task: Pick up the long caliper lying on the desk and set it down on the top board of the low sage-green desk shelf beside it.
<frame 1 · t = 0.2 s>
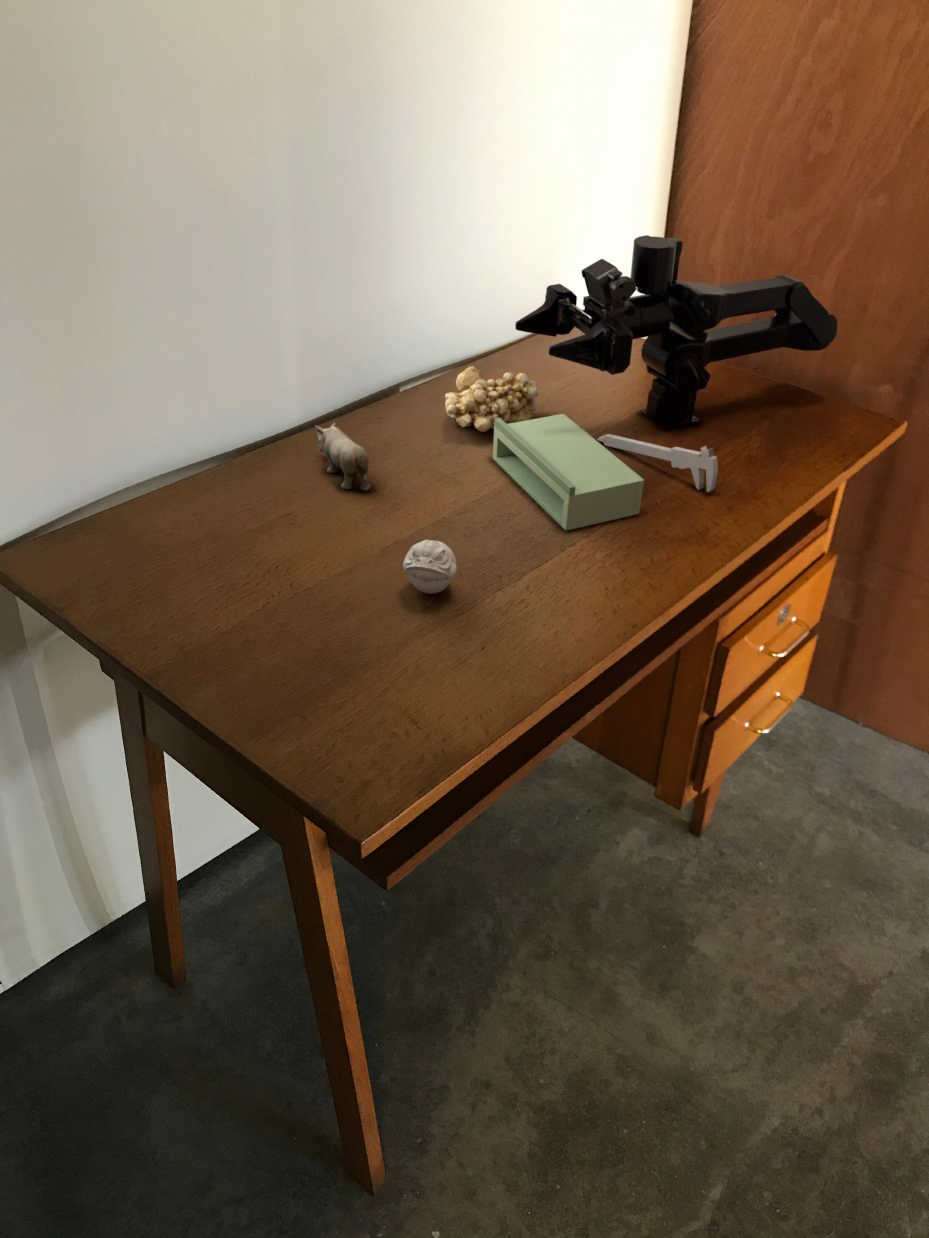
hand: (532, 338, 135), 16 cm above the table, tool horizontal, fingers open, 9 cm apart
frog figurine: (430, 592, 115), on the table
mineral formation: (479, 425, 151), on the table
rhino figurine: (340, 472, 138), on the table
desk shelf: (562, 485, 136), on the table
caliper: (652, 467, 141), on the table
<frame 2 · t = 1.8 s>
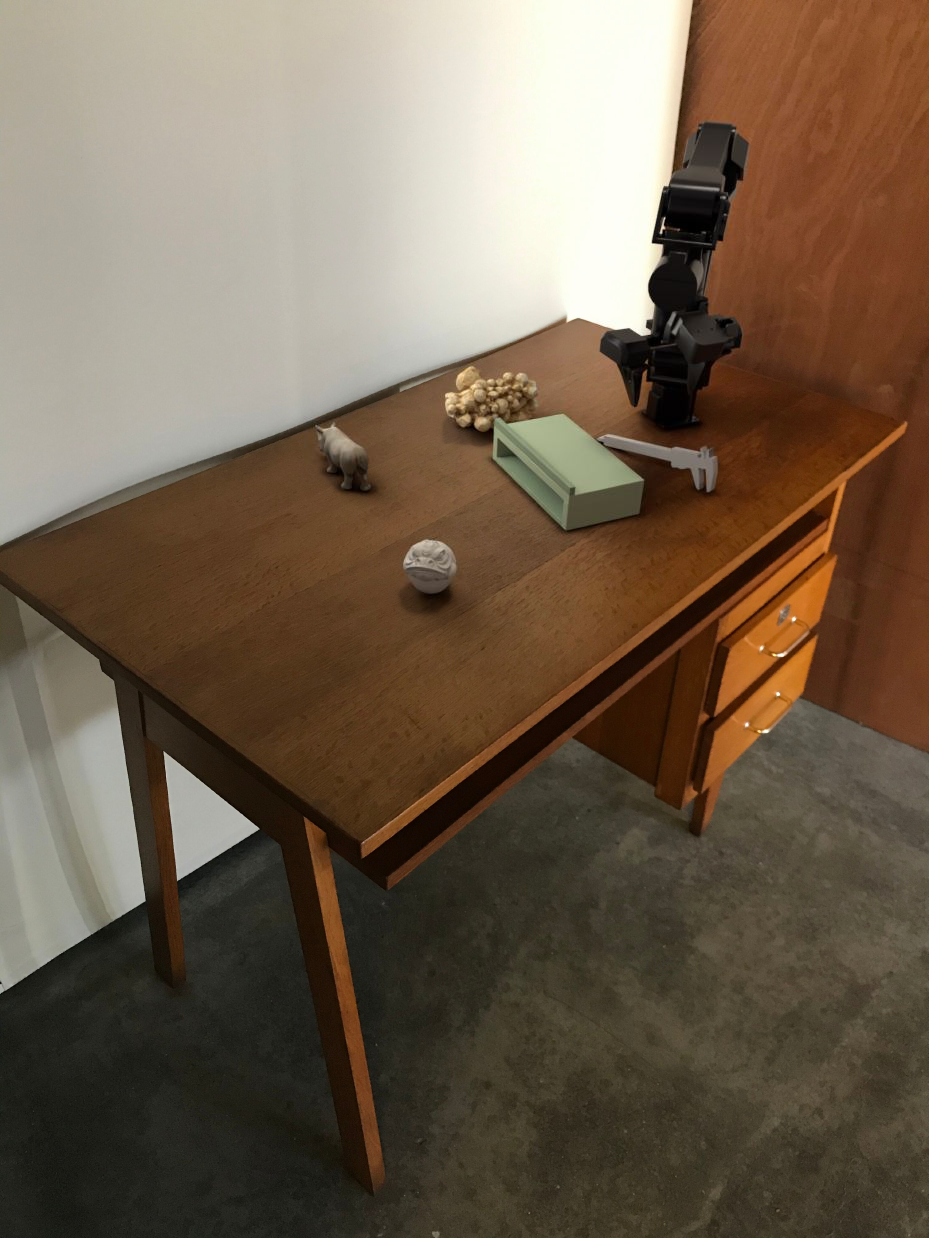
hand: (662, 400, 135), 10 cm above the table, tool pointing down, fingers open, 9 cm apart
nothing on the table moved.
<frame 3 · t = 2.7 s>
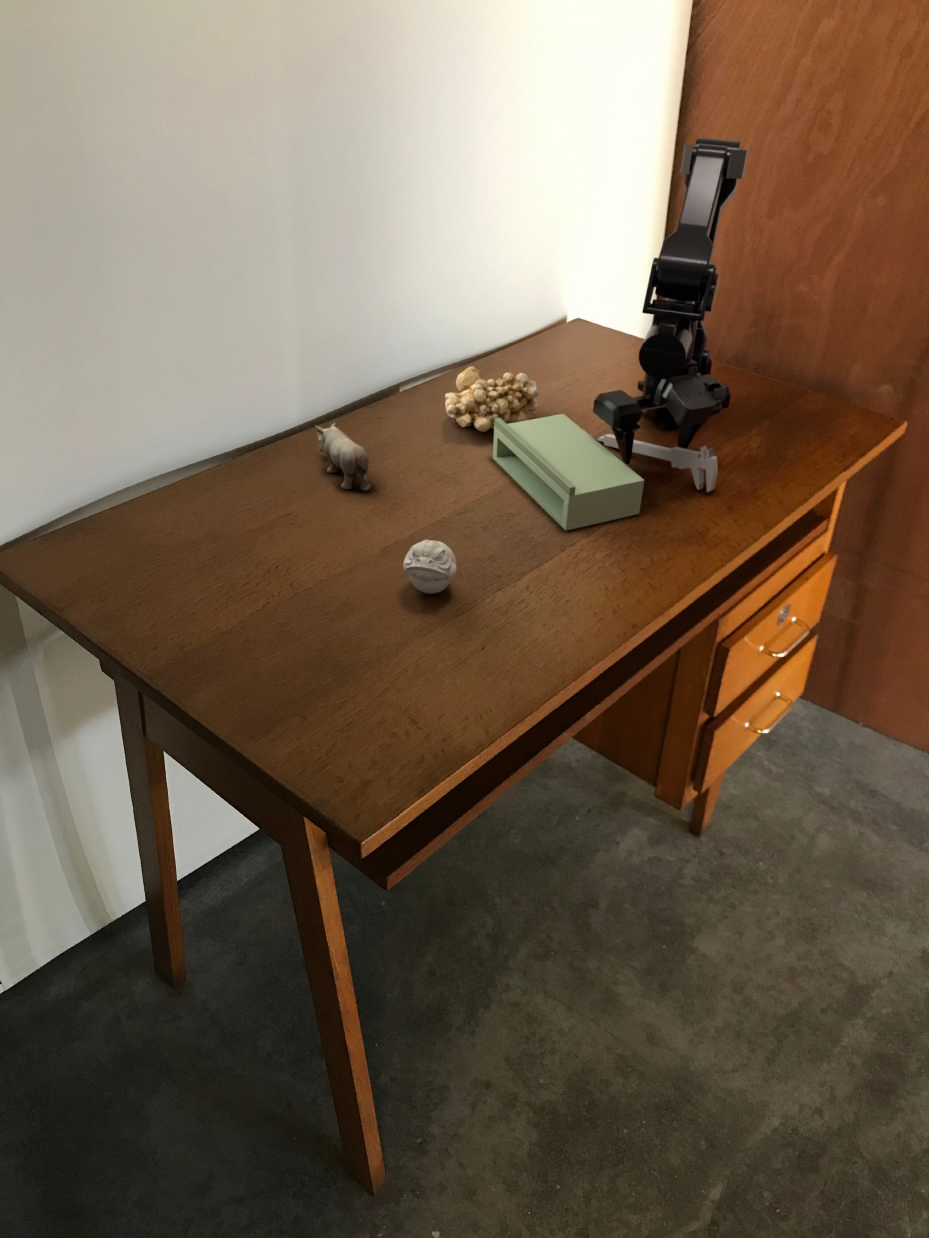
hand: (654, 457, 140), 1 cm above the table, tool pointing down, fingers open, 9 cm apart
nothing on the table moved.
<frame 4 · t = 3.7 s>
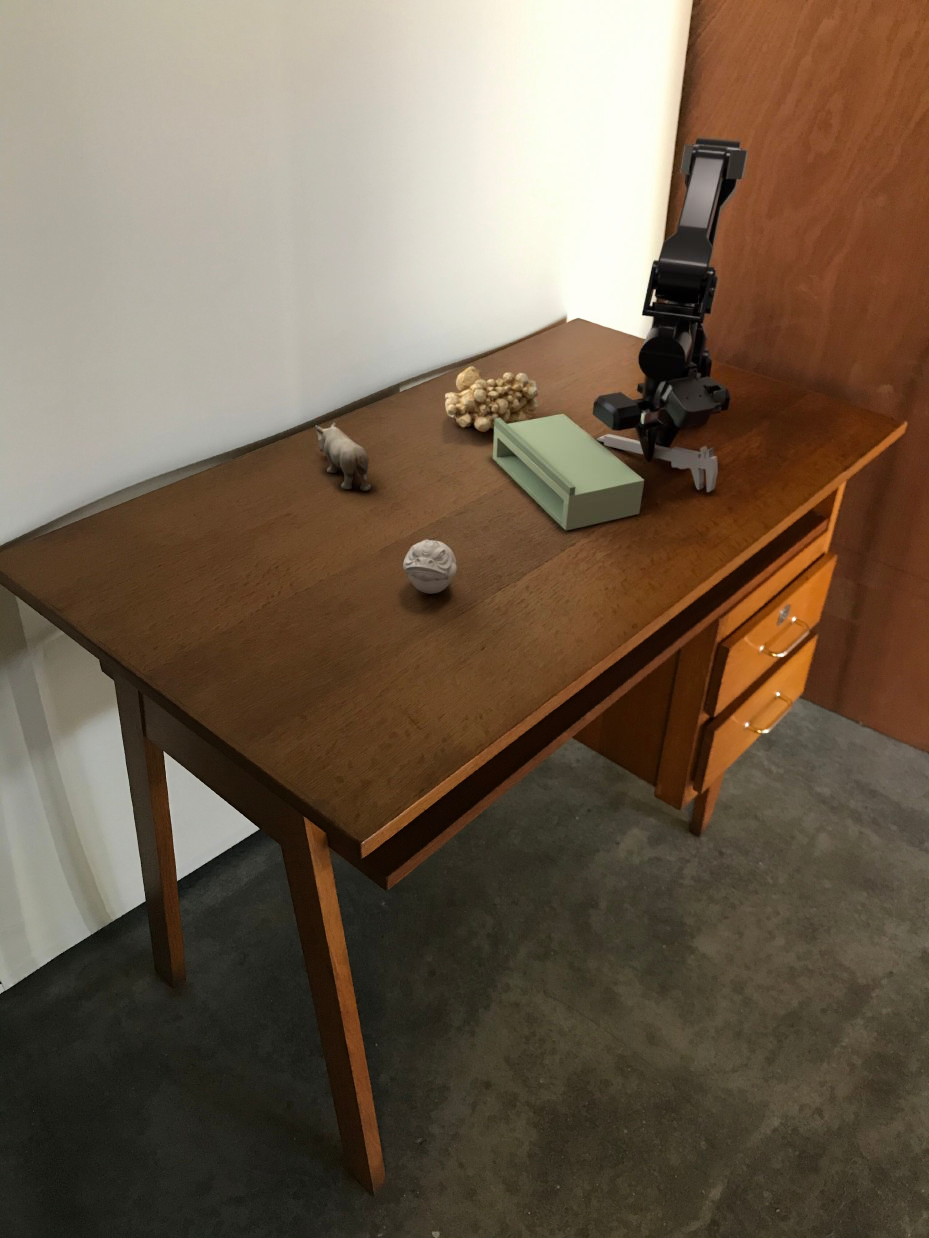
hand: (653, 459, 141), 1 cm above the table, tool pointing down, fingers closed on caliper, 1 cm apart
caliper: (652, 467, 141), on the table, touching gripper
everything else where it was.
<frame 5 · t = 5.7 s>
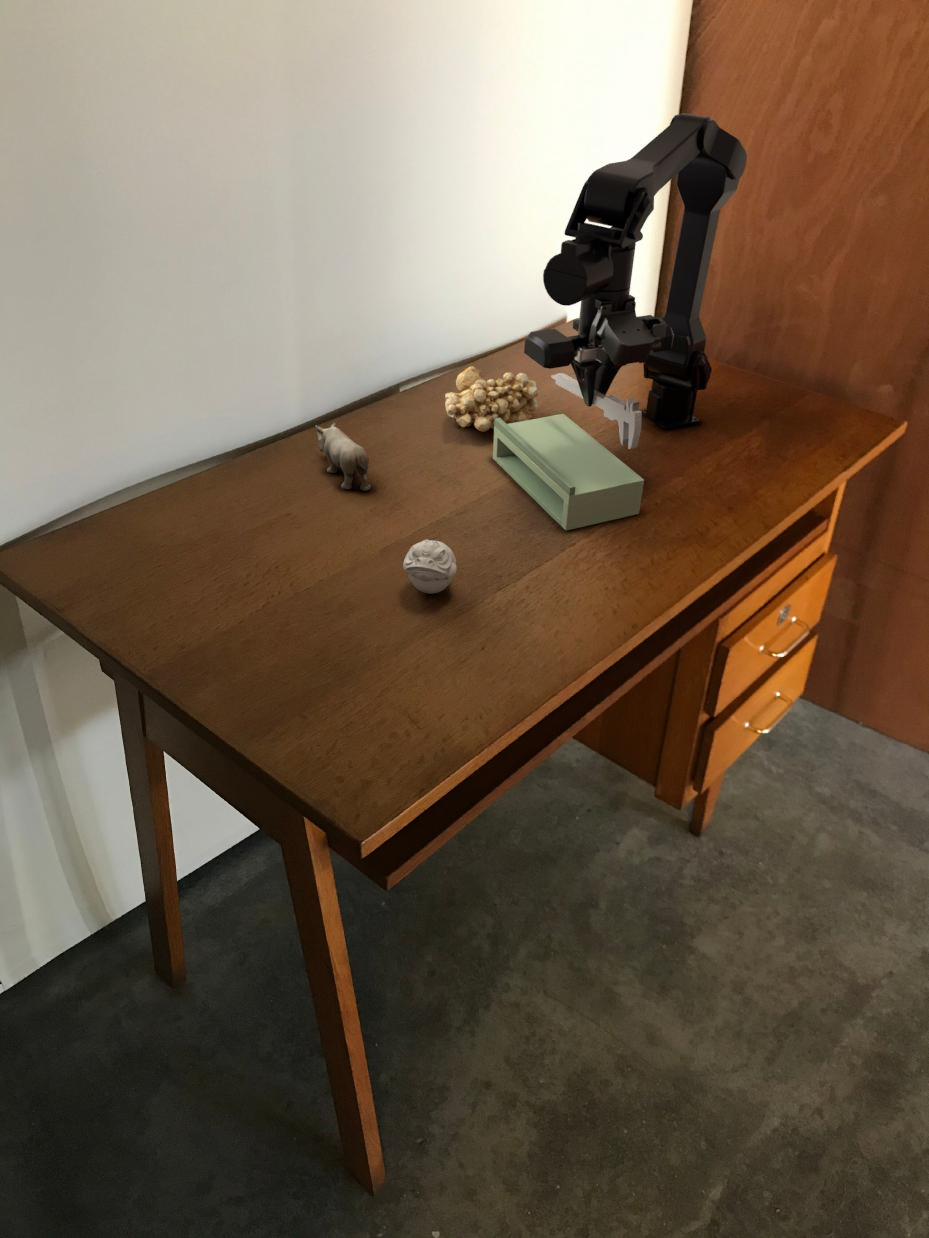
hand: (592, 404, 130), 11 cm above the table, tool pointing down, fingers closed on caliper
caliper: (591, 414, 131), point 10 cm above the table, touching gripper
everything else where it was.
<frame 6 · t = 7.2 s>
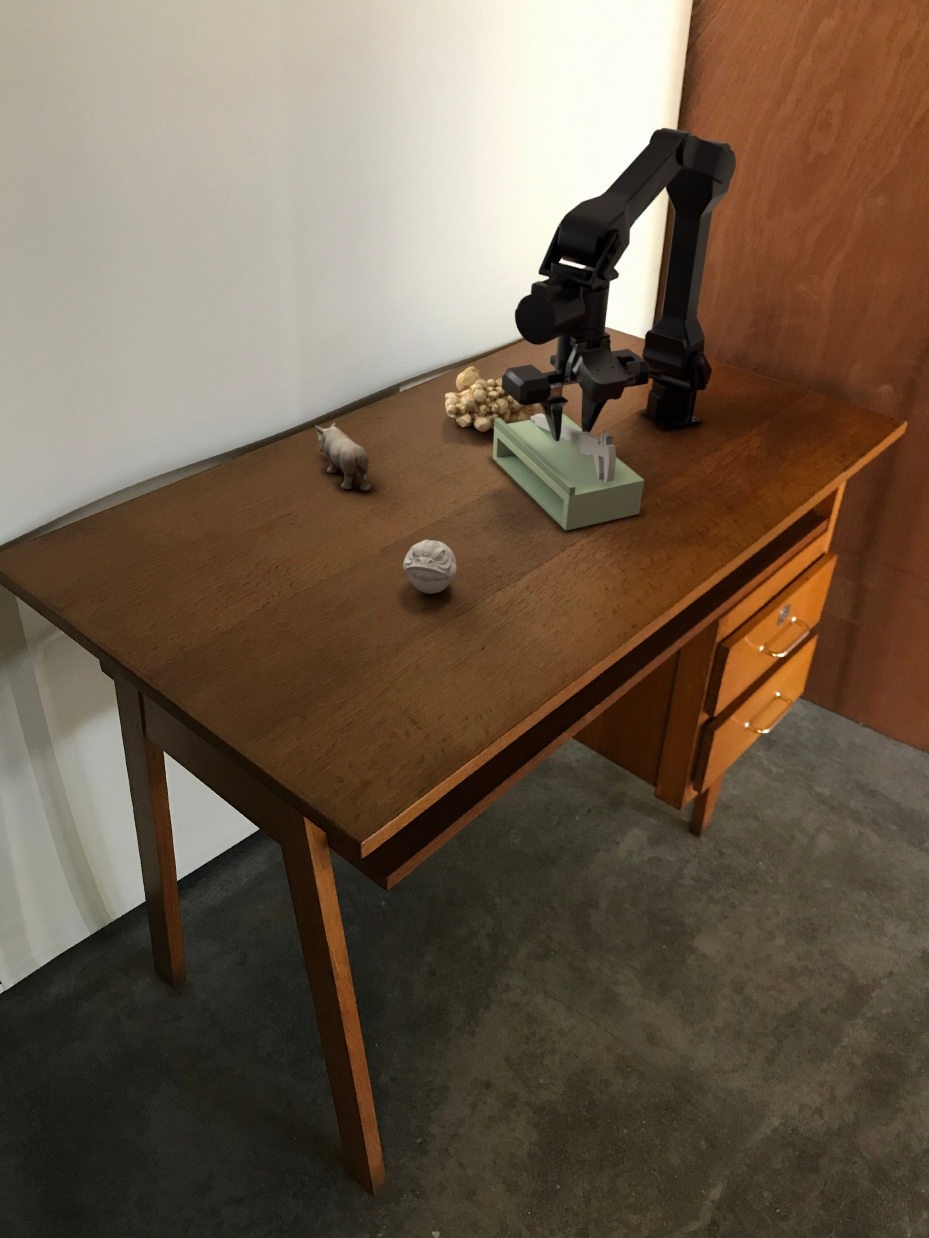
hand: (570, 437, 132), 7 cm above the table, tool pointing down, fingers open, 4 cm apart
caliper: (569, 451, 134), point 5 cm above the table, touching desk shelf
everything else where it was.
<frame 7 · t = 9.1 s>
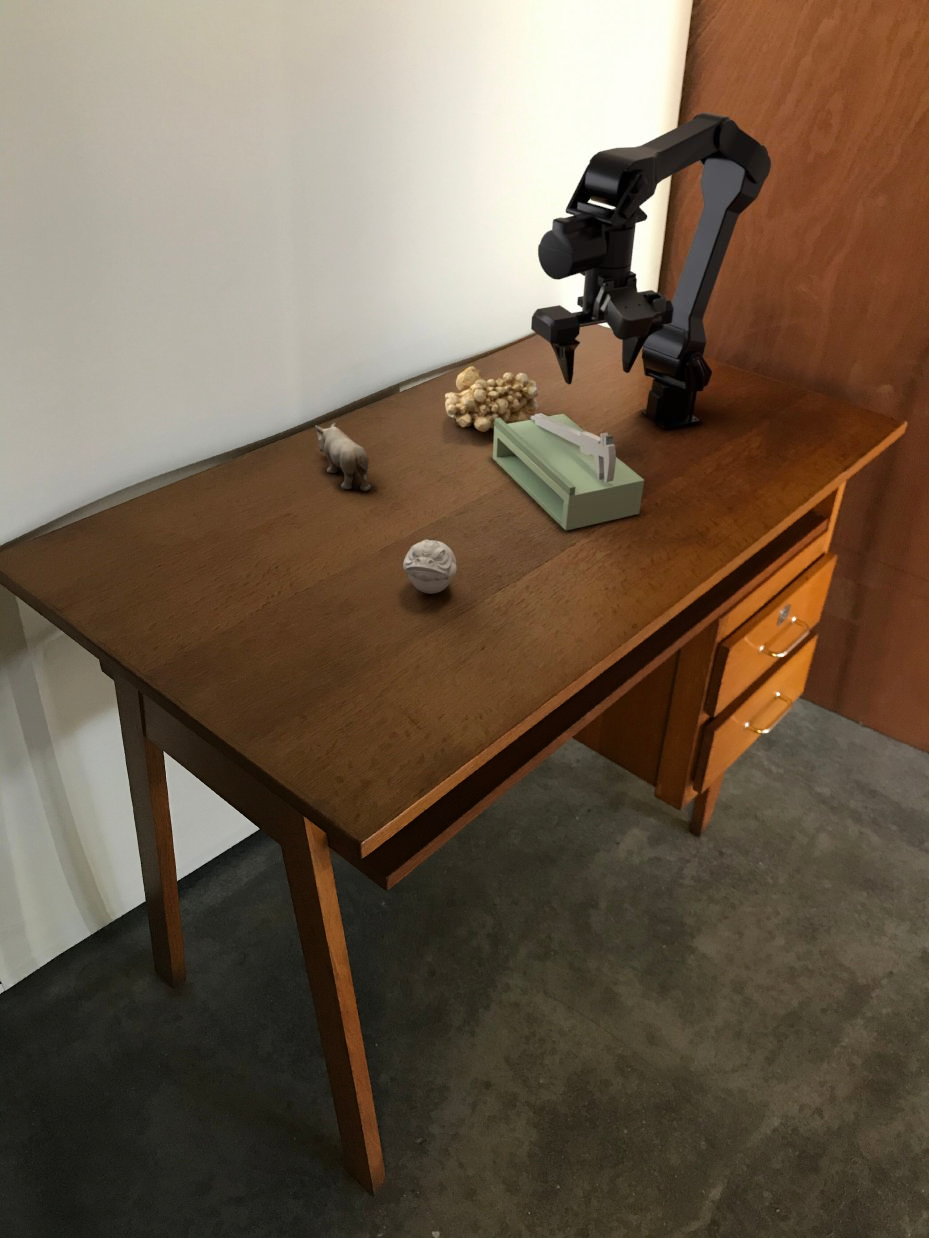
hand: (597, 377, 137), 12 cm above the table, tool pointing down, fingers open, 9 cm apart
nothing on the table moved.
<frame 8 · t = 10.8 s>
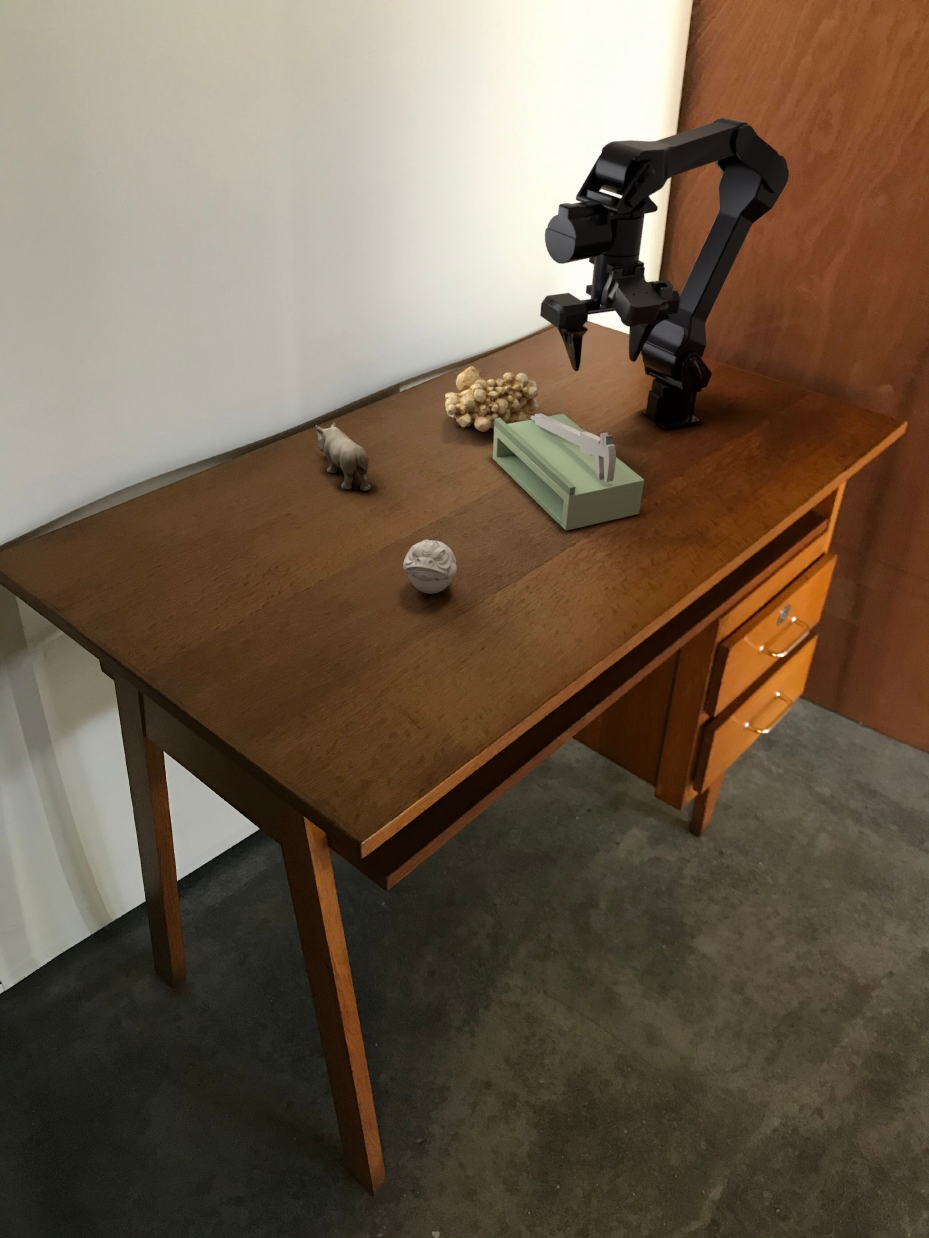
hand: (604, 365, 139), 12 cm above the table, tool pointing down, fingers open, 9 cm apart
nothing on the table moved.
at the end: caliper inside the target area on the desk shelf (0.6 cm from its centre), point 4.8 cm above the desk shelf's base; the gripper is holding nothing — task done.
